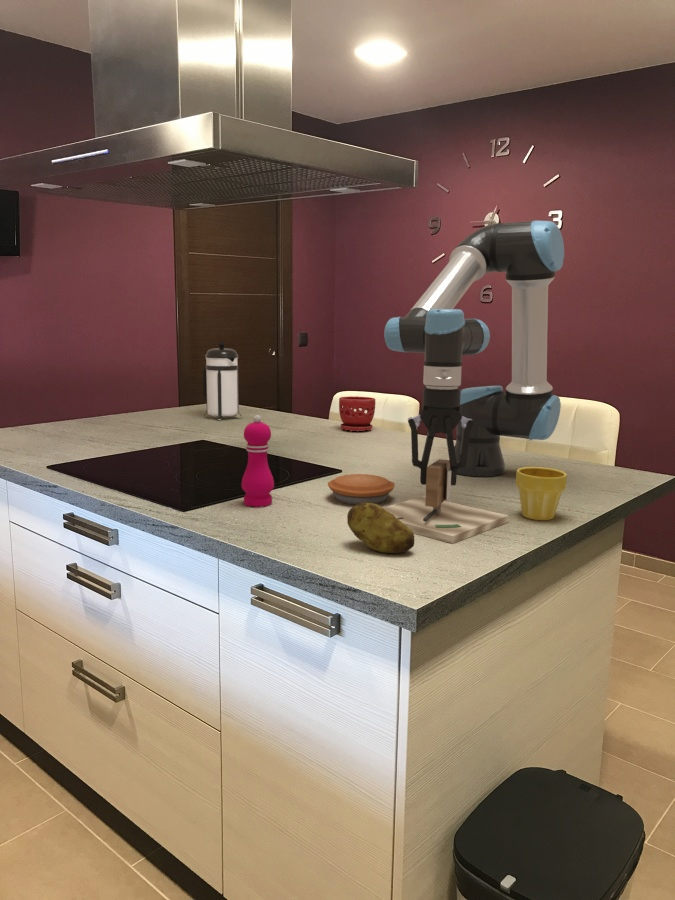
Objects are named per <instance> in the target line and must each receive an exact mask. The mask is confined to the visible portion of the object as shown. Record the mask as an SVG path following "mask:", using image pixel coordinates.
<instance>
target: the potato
mask: <svg viewBox="0 0 675 900" xmlns="http://www.w3.org/2000/svg"><path fill="white" fill-rule="evenodd" d="M346 519H347V526H348V528H349V529H350V531H351V532H352V533H353V535H354V536H355V537H356V538H357V539H359V541H361V542H363V543H364V544H365V545H366V547H368V548H369V549H371V550H373V551H375V552H379V553H384V554H399V553H400V554H404V553H406V552H408V551H409V550H411V549H412V548H414V546H415V533H413V532H412V530H411V529H410V528H409V527H407V526H406V525H405V524H404V523H403V522H401V521H400V520H398V519H397V518H396V517H395V516H394V515H393V514H391V513H389V512H388V511H386V510H385V509H383V507H382V506H380V505H379V504H374V503H370V502H366V503H359V504H358V505H354V506H352V507H351V508H350V509H349V510H348V512H347V517H346Z"/></svg>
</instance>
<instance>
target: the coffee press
mask: <svg viewBox="0 0 675 900" xmlns="http://www.w3.org/2000/svg"><path fill="white" fill-rule="evenodd" d="M218 346H219V347H218V348H211V349H210V348H209V349H208V350H207V351H206V354H204V357H205V360H206V362H205V363H206V364H205V366H204V368H203V370H202V372H203V373H202V384H203V385H202V388H203V397H204V400H205V401H206V411H205V413H204V415H203V417H204V416H205V417H206V414H208V416H209V417H210V416H211V417H217V420H218V419H221V418H222V419H223V417H231V416H232V417H236V416H237V414H239V417H241V416H242V414H241V413H240V410H239V407H240V405H239V404H240V403H239V396H240V395H239V364H238V359H239V355H238V353H237V351H236V350H234V349H233V348H225V343H224V342H223V341H219V343H218ZM242 417H243V416H242Z"/></svg>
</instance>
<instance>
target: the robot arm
mask: <svg viewBox="0 0 675 900" xmlns="http://www.w3.org/2000/svg"><path fill="white" fill-rule="evenodd" d="M448 258H449V259H448V263H447V264H446V265H445V267H444V268H443V269H442V270H441V272H439V273H438V275H437V277H436V278H435V279H434V280H433V281H432V283H431V284H430V285H429V286H428V288H427V289H426V290H425V292H423V294H422V295H421V296H420V298H419V299H418V300H417V301H416V303H415V304H414V305H413V307H411V309H410V310H409V311H408V313H407V314H406V315H405V316H404V317H402V316H397V317H392V318H389V319H388V321H387V322H386V324H385V326H384V330H383V331H384V332H383V334H384V335H383V336H384V342H385V345H386V347H387V348H388V349H389V350H391V351H394V352H399V353H400V352H403V353H405V354H406V353H416V354H424V364H423V381H422V382H423V383H422V384H423V386H425V387H423V389H422V405H421V406H422V407H421V410H420V412H419V414H418V415H415V416H413V417H412V416H411V417H409V418H407V422H408V425H409V428H410V435H411V436H410V438H411V464H412V466H413V467H415V468H419V470H420V473H419V474H420V475H419V476H420V477H419V481H420V484H421V485H422V486H423V485H424V486H425V488H424V496H425V500H426V475H427V467H428V466H429V461H430V457H431V452H432V447H433V444H434V439H435V435H436V434H440V433H441V434H445V440H446V446H447V453H448V460H449V461H450V468H447V469H446V493H445V499H446V500H445V501H446V502H451V490H452V489H451V487H452V486H456V484H457V478H458V477H457V475H460V476H461V475H462V476H468V477H484V478H485V477H497V476H502V475H503V474H504V473H505V471H506V470H505V469H506V464H505V461H504V456H503V452H502V449H501V444H500V440H501V439H500V438H501V437H509V438H519V439H525V440H529V441H533V440H536V441H544V440H548V439H549V438H550V437H551V436H552V435H553V433H554V431H555V430H556V428H557V426H558V422H559V418H560V414H561V406H562V405H561V404H562V403H561V398H560V397H559V396H557V394H556V395H555V394H553V392H554V391H553V386H552V384H550V382H548V380H547V379H548V377H547V375H548V373H547V372H548V370H547V369H548V323H549V321H548V318H549V313H548V312H549V308H548V307H549V285H550V284H551V282H553V281H554V279H555V278H556V276H555V275H556V272H559V271H560V270H561V269H562V267H563V265H564V259H565V246H564V238H563V235H562V232H561V230H560V228H559V226H558V225H557V224H556V223H555V222H553V221H552V220H529V221H527V220H526V221H513V222H495V223H491V224H487V225H484V226H483V227H481V228H479V229H477V230H475V231H473V232H472V233H470V234H469V235H467V236H466V237H465V238H464V239H463V240H462V241H460V242H459V243H458V244H457V245H456V247H455V248H454V249H452V252H451V253H450V256H449V257H448ZM488 273H505V281H506V282H507V283H508V284H509V286H511V382H509V384H508V385H507V386H506V387H505V391H504V388H503V386H502V385H487V386H486V385H485V386H484V385H483V386H475V387H467V388H463V389H460V388H458V387H460V386H461V385H462V366H463V356H474V355H477V354H479V353H481V352H483V351H484V350H485V349H486V348H487V347H488V346H489V343H490V339H491V333H490V329H489V327H488V326H487V324H486V323H485V322H483V321H482V320H481V319H478V318H465V313H464V311H463V310H462V309H458V308H457V309H456V308H455V307H456V305H458V303H459V301H460V300H461V299H462V297H464V295H465V293H466V292H467V291H468V289H470V287H471V286H472V284H473V283H474V282H477V281H479V280H480V279H482V278H483V277H484V276H485V274H488ZM420 422H422V423H423V425H424V426H425V427H426V429H427V431H426V432H427V433H426V438H425V443H424V446H423V452H422V456H421V460H419V438H418V437H419V436H418V427H420V424H421V423H420ZM455 428H456V433H455V434H456V435H455V436H456V438H455V442H454V434H453V433H454V430H455Z"/></svg>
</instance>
